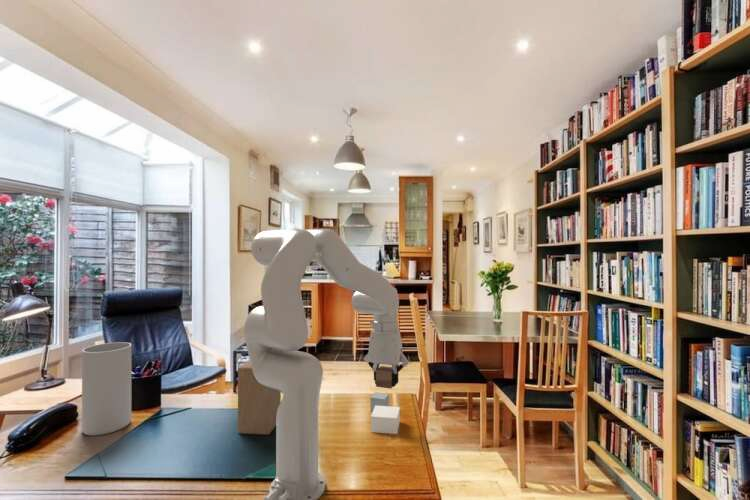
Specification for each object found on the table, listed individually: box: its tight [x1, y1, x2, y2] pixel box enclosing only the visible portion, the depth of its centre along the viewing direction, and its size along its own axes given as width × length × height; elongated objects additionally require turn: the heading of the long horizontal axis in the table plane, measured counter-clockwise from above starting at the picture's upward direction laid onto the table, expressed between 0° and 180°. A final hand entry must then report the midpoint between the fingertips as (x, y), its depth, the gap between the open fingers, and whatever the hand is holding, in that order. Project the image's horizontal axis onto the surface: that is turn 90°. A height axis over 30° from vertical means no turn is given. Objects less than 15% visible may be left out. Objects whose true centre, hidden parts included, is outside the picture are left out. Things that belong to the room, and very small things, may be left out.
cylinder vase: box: [81, 341, 133, 437], centre depth 114 cm, size 12×12×25 cm
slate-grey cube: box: [370, 391, 390, 413], centre depth 126 cm, size 5×5×5 cm
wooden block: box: [237, 359, 282, 436], centre depth 114 cm, size 10×10×20 cm
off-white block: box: [370, 405, 401, 435], centre depth 114 cm, size 8×8×5 cm
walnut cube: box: [375, 365, 393, 390], centre depth 114 cm, size 5×5×5 cm
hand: (386, 383), depth 114 cm, fingers closed on walnut cube, 4 cm apart
